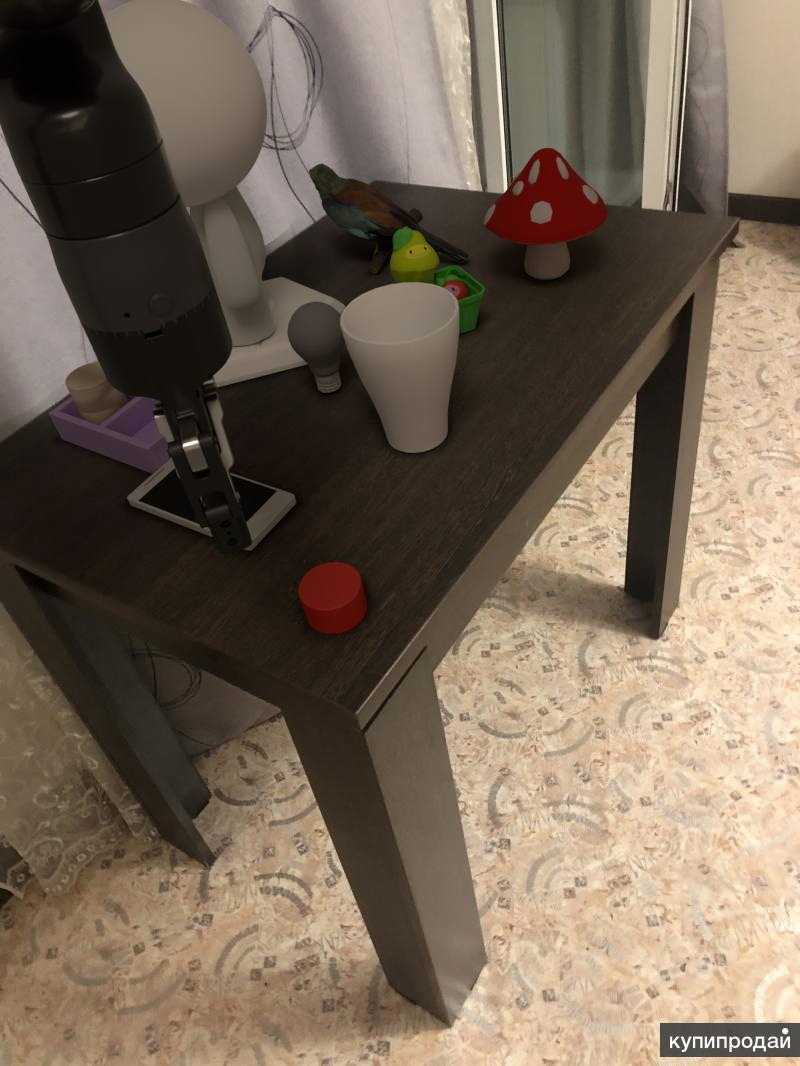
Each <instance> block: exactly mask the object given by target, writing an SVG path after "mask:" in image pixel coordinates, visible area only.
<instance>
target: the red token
mask: <svg viewBox="0 0 800 1066" xmlns="http://www.w3.org/2000/svg"><path fill="white" fill-rule="evenodd" d="M297 593H298V598H299V600H300V603H301V607H302V609H303V613H304V615H305V618H306V621H307V623H308V624H309V626H310V628H312V629H314V630H315V631H317V632H319V633H321V634H324V635H325V634H326V635H327V634H328V635H338V634H342V633H345V632H348V631H351V630H352V629H353V628H355V627H357V626H358V625H359V624H360V623H361V622H362V621H363V619H364V618H365V617H366V614H367V611H368V601H367V596H366V593H365V589H364V584H363V580H362V577H361V574H360V572H359V571H358V570H357V569H356V568H355V567H354V566H352V565H350V564H349V563H345V562H340V561H331V562H325V563H321V564H319V565H316V566H315V567H313V568H311V569H310V570H309V571H307V572H306V573H305V574H304V575H303V577H302V578H301V580H300V582H299V584H298V590H297Z"/></svg>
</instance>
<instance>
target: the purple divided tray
mask: <svg viewBox="0 0 800 1066" xmlns="http://www.w3.org/2000/svg"><path fill="white" fill-rule="evenodd" d="M125 395H126V398H127V400H128V402H129V403H127V404H126V405H125V406H124V407H122V408H121V409H120V410H118V411H117V412H116V413H114V414H113V415H112V416H111V417H109V418H108V419H107V420H105V421H104V422H103V423H101V424H100V425H96V424H93V423H90V422H88V421H85V420H83V418H82V416H81V414H80V412H79V410H78V408H77V406H76V404H75V402H74V400H73V398H72V396H69V398H68V399H66V400H64V401H63V402H62V403H61V404H59V405H58V406H56V407H55V408H54V409H52V410H51V411H49V412H48V415H49V418H50V419H51V421H52V423H53V425H54V427H55V429H56V430H57V433H58V435H59V436H60V439H61V440H63V441H66V442H68V443H71V444H73V445H76V446H79V447H81V448H83V449H86V450H89V451H92V452H94V453H97V454H100V455H102V456H104V457H107V458H109V459H112V460H115V461H118V462H121V463H123V464H126V465H127V466H130V467H133V468H136V469H138V470H140V471H143V472H147V473H149V474H151V475H152V474H153V473H155V472H156V471H157V470H158V469H159V468H160V467H161V466H162V465H164V464H165V463H166V462H167V461H168V460H169V459H170V458H169V455H168V452H167V449H168V445H167V442H166V439H165V437H164V436H162V435H161V434H160V433H159V431H158V428H157V425H156V422H155V419H154V416H153V412H152V410H153V409H156V406H155V405H154V402H153V400H152V398H147V397H136V396H131V395H127V394H125Z"/></svg>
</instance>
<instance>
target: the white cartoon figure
mask: <svg viewBox="0 0 800 1066" xmlns="http://www.w3.org/2000/svg"><path fill="white" fill-rule="evenodd" d="M103 15H104V18H105V20H106V23H107V26H108V29H109V31H110V35H111V38H112V41H113V44H114V46H115V49H116V51H117V53H118V55H119V58H120V59H121V61H122V63H123V64H124V66H125V67H126V69H127V70H128V72H129V73H130V74H131V75H132V77H133V78H134V79H135V81H136V82H137V83H138V85H139V86H140V88H141V89H142V91H143V92H144V94H145V96H146V98H147V100H148V102H149V105H150V107H151V109H152V111H153V114H154V116H155V119H156V122H157V125H158V128H159V130H160V133H161V136H162V139H163V142H164V145H165V148H166V151H167V154H168V157H169V160H170V163H171V166H172V170H173V173H174V176H175V179H176V182H177V185H178V188H179V192H180V194H181V197H182V199H183V202H184V204H185V206H186V208H189V215H190V217H191V219H192V221H193V223H194V225H195V228H196V230H197V233H198V235H199V238H200V241H201V244H202V247H203V250H204V254H205V257H206V260H207V263H208V266H209V269H210V272H211V275H212V278H213V282H214V285H215V288H216V291H217V294H218V297H219V300H220V303H221V307H222V310H223V313H224V316H225V319H226V322H227V325H228V329H229V332H230V335H231V338H232V351H231V354H230V357H229V359H228V360H227V362H226V363H225V365H224V366H223V367H222V368H221V369H220V370H219V371H218V372H217V373H216V374H215V375H214V378H215V382H216V385H217V388H218V389H219V388H221V387H225V386H229V385H233V384H237V383H242V382H244V381H249V380H253V379H256V378H260V377H265V376H268V375H272V374H276V373H280V372H283V371H288V370H292V369H295V368H299V367H303V366H308V364H307V363H306V362H305V361H304V360H303V359H302V358H301V357H300V356H299V355H298V354H297V353H296V352H295V351H294V349H293V348H292V346H291V344H290V342H289V338H288V334H287V331H288V324H289V321H290V319H291V317H292V315H293V314H294V312H295V311H296V310H297V309H298V308H299V307H300V306H302V305H304V304H306V303H310V302H323V303H326V304H328V305H330V306H332V307H333V308H335V309H336V310H337V311H338V312H339V313H340V315H342V313H343V311H344V309H345V307H346V305H345V304H344V303H342V302H341V301H340V300H338V299H336V298H334V297H332V296H329V295H327V294H325V293H322V292H320V291H318V290H315V289H312V288H310V287H308V286H306V285H303V284H301V283H298V282H296V281H293V280H291V279H289V278H286V277H283V276H279V277H275V278H270V279H267V280H263V272H264V269H265V265H266V246H265V240H264V236H263V233H262V231H261V228H260V226H259V224H258V222H257V220H256V218H255V216H254V215H253V212H252V211H251V209H250V207H249V205H248V204H247V202H246V201H245V199H244V197H243V196H242V194H241V191H240V190H239V189H238V185H240V184H241V183H242V182H243V181H244V180H245V178H246V177H247V176H248V174H249V173H250V172H251V171H252V169H253V167H254V166H255V164H256V162H257V160H258V158H259V156H260V154H261V151H262V148H263V146H264V142H265V138H266V132H267V124H268V107H267V97H266V91H265V87H264V83H263V80H262V77H261V74H260V71H259V69H258V67H257V65H256V62H255V60H254V58H253V56H252V54H251V53H250V51H249V50H248V48H247V47H246V45H245V44H244V42H243V41H242V39H240V37H239V36H238V35H237V34H236V33H235V31H233V29H232V28H231V27H230V26H228V24H226V23H225V22H224V21H223V20H222V19H220V18H219V17H218V16H216V15H215V14H213V13H211V12H210V11H209V10H206V9H205V8H202V7H201V6H199V5H197V4H194V3H191V2H188V1H185V0H131V1H128V2H125V3H122V4H121V5H118V6H116V7H115V8H113V9H111V10H110V11H108V12H107V13H106V14H103Z"/></svg>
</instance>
